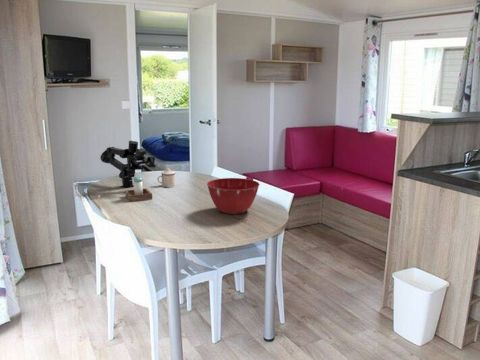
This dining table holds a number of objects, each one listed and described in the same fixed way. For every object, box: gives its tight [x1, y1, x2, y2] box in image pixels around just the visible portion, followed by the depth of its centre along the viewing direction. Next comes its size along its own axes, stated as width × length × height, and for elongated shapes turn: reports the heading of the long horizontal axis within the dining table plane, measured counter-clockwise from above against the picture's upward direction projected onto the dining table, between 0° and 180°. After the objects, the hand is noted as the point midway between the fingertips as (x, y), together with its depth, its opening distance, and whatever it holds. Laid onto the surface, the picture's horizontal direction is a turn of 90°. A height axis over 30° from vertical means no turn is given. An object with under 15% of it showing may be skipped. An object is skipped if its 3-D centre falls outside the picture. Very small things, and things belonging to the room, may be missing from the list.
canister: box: [133, 176, 144, 195], centre depth 258 cm, size 7×5×12 cm
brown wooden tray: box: [124, 188, 153, 203], centre depth 260 cm, size 13×13×4 cm
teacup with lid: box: [157, 168, 176, 188], centre depth 290 cm, size 12×9×12 cm
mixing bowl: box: [206, 177, 260, 215], centre depth 239 cm, size 28×28×16 cm
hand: (149, 167), depth 269 cm, fingers open, 9 cm apart
